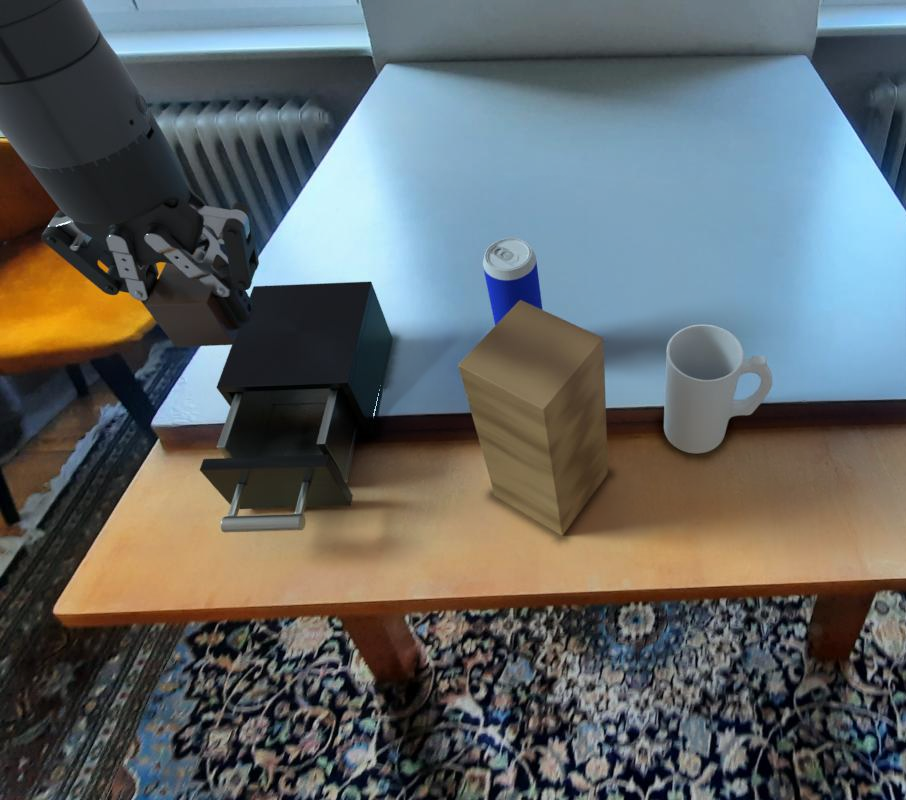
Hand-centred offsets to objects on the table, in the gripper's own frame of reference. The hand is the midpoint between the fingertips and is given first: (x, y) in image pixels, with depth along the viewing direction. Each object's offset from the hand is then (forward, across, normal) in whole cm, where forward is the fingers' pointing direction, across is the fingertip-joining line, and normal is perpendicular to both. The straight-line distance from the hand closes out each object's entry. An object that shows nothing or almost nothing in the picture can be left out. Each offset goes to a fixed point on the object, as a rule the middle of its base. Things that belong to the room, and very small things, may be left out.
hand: (211, 321), depth 57 cm
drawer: (+21, 0, -1) cm, 21 cm away
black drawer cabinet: (+22, 0, +10) cm, 24 cm away
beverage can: (+22, +22, +14) cm, 34 cm away
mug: (+22, +41, +3) cm, 47 cm away
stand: (+22, +25, -3) cm, 33 cm away
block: (0, 0, 0) cm, 0 cm away
